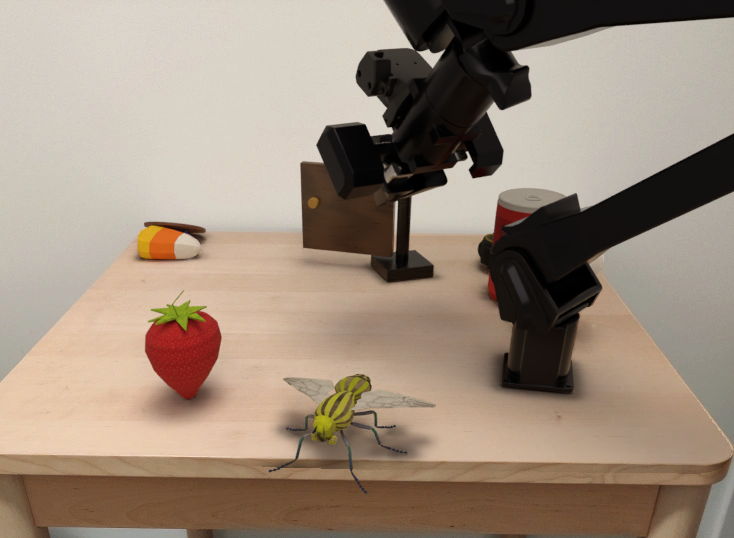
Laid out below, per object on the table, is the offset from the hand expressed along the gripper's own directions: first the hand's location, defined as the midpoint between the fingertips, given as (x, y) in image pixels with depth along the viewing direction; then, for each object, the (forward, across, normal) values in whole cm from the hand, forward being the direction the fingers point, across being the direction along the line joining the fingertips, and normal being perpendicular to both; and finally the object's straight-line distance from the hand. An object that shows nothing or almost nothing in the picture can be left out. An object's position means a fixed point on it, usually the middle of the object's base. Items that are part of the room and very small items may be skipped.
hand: (377, 202), depth 78 cm
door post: (+12, -9, +3) cm, 15 cm away
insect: (-9, +19, +24) cm, 32 cm away
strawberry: (+1, +26, +14) cm, 30 cm away
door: (+15, -4, -2) cm, 15 cm away
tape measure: (+9, -21, +7) cm, 24 cm away
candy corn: (+28, +16, -15) cm, 35 cm away
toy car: (+29, +10, -17) cm, 35 cm away
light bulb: (-4, -12, +20) cm, 23 cm away
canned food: (+3, -15, +13) cm, 20 cm away
